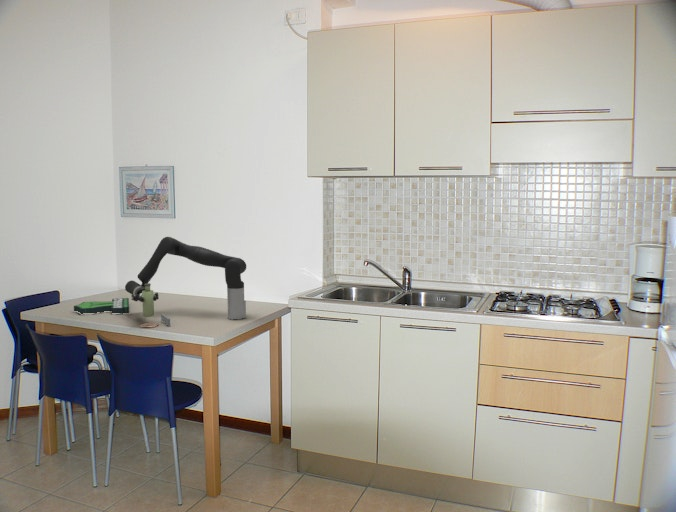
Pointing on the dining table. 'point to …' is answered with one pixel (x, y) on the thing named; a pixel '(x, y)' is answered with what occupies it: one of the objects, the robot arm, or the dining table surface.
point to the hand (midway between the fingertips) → (149, 299)
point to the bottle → (148, 301)
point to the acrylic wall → (165, 319)
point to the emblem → (104, 306)
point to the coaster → (149, 325)
